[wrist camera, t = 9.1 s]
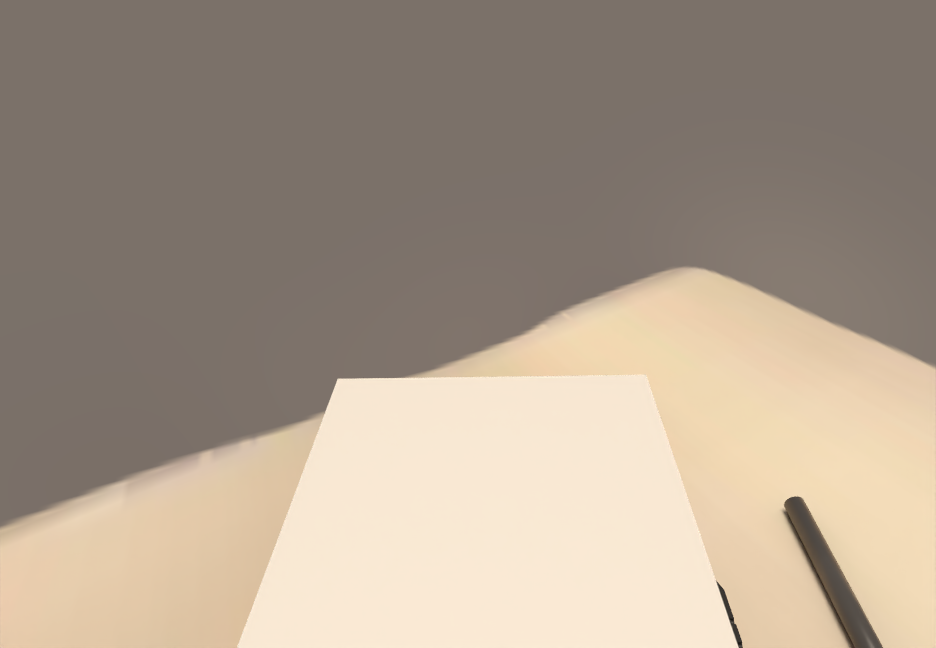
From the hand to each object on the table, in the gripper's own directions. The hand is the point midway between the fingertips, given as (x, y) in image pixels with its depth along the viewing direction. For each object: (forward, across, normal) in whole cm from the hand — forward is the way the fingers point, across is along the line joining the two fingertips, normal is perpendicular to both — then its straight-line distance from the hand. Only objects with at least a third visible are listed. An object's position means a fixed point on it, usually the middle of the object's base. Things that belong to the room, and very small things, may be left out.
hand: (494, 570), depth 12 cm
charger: (-3, 0, +7) cm, 7 cm away
